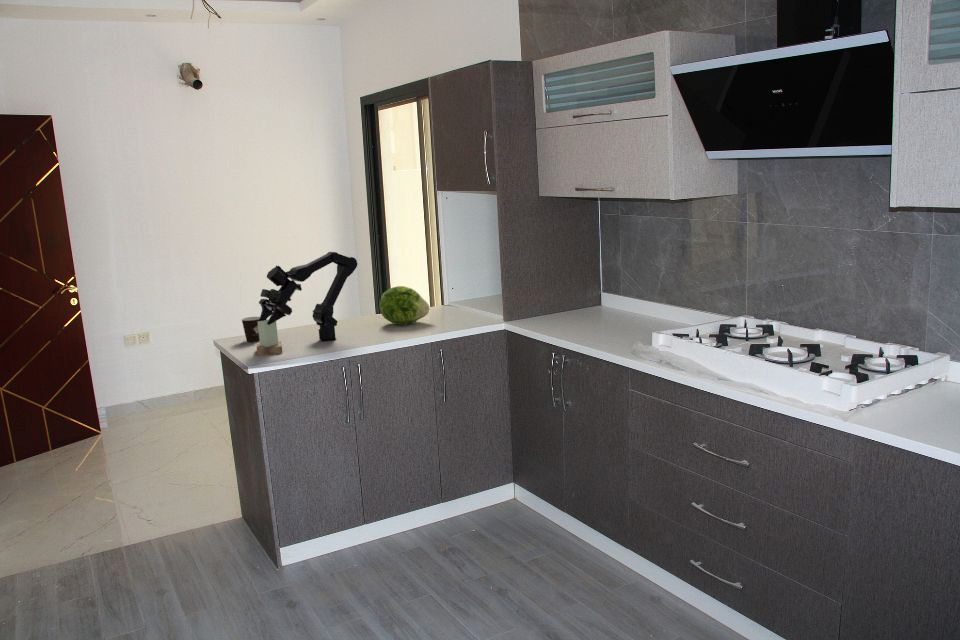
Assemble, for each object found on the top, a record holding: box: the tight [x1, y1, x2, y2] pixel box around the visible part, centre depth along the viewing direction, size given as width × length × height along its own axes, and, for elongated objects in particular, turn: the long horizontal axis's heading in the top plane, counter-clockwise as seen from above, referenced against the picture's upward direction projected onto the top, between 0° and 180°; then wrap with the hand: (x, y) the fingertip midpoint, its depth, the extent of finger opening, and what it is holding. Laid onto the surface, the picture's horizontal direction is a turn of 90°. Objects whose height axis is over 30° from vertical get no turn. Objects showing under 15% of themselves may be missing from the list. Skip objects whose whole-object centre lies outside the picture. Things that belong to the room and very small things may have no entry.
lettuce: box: [379, 285, 430, 326], centre depth 374 cm, size 19×23×18 cm
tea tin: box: [258, 319, 279, 347], centre depth 329 cm, size 6×6×10 cm
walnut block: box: [256, 341, 283, 357], centre depth 330 cm, size 10×10×4 cm
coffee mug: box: [241, 316, 268, 343], centre depth 354 cm, size 12×9×10 cm
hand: (263, 323), depth 327 cm, fingers open, 7 cm apart
